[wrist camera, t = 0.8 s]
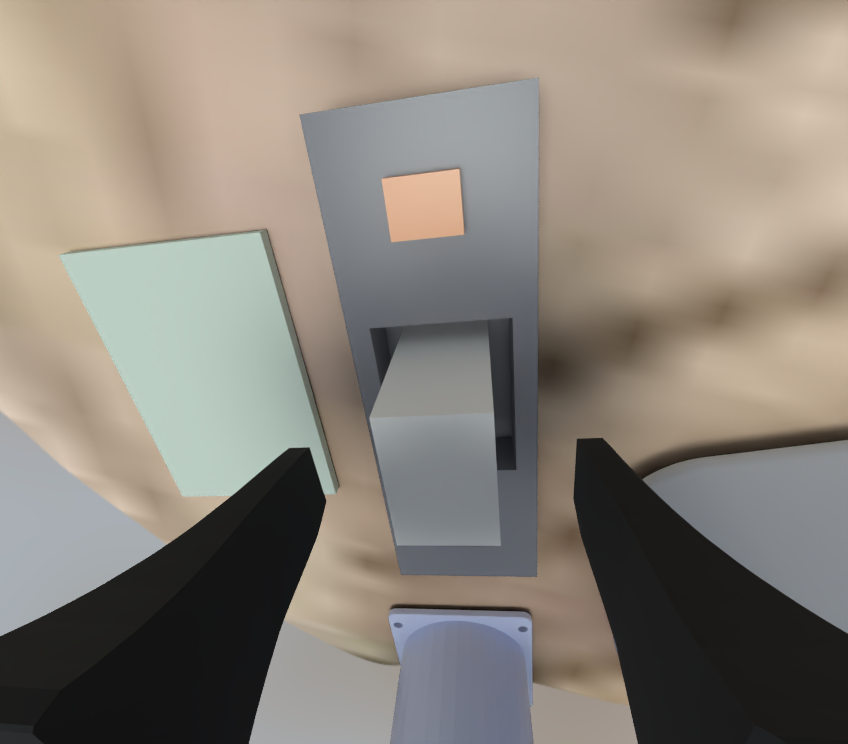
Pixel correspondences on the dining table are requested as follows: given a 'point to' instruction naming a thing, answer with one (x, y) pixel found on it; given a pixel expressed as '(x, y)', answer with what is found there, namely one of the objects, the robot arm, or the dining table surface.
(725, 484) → the plastic bottle
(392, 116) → the grey slotted plate
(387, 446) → the white rectangular block
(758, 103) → the dining table surface
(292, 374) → the rubber mat
